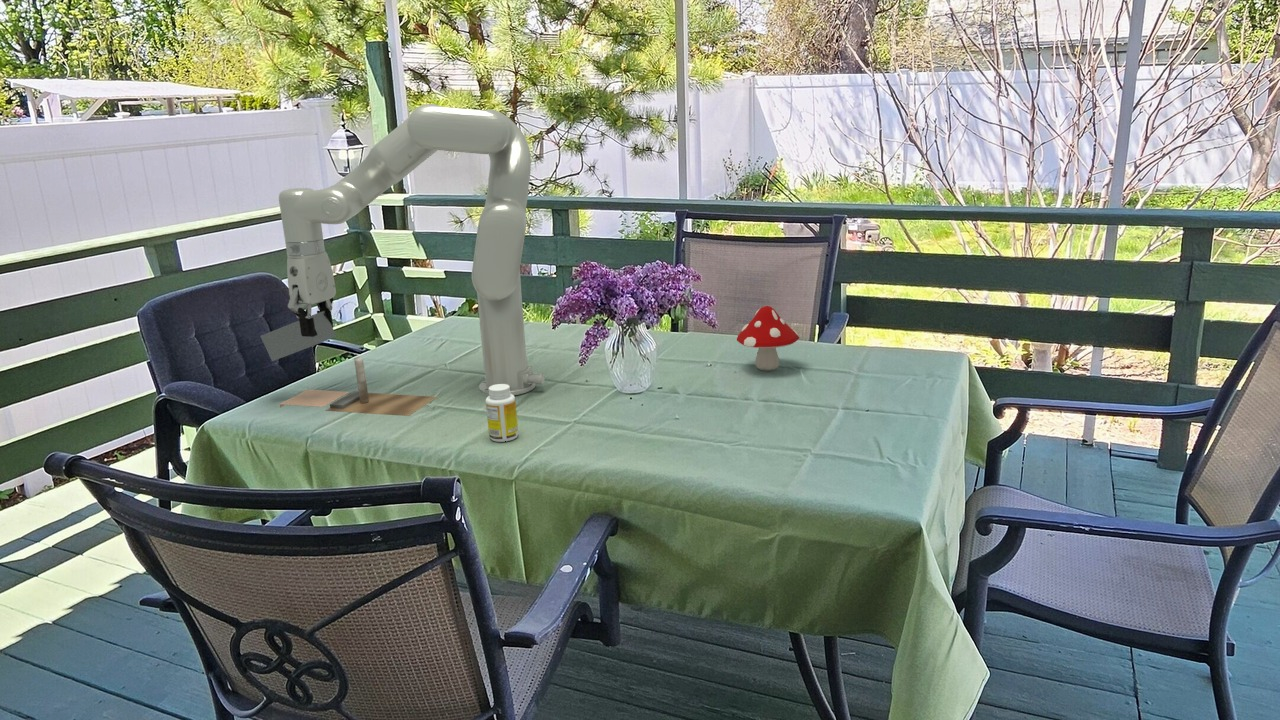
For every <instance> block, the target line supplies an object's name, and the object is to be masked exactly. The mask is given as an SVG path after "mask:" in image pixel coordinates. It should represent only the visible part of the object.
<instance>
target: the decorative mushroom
mask: <svg viewBox="0 0 1280 720" xmlns="http://www.w3.org/2000/svg"><path fill="white" fill-rule="evenodd" d="M799 340H800V336H799V334H798V332H797V331H796V330H794V329H793V328H791V326H789V324H787V323H786V322H785V319H783V318H782V317H781V316H780V315H779V313H777V311H776V310H775V309H774V307H772V306H771V305H770V306H769V305H765V306H762V307H760V308H759V309H758V310H756V312H755V314H754V317H753V318H752V319H751V320H750V321H749V322H748V323H747V324H745V325H744V326H743V327H742V329H741V330H740V332H739V333H738V334H737V337H736V341H737V342H738V343H739V344H741V345H743V346H744V347H747V348H756V349H757V348H758V349H757V353H756V358H755V361H754V364H755V367H756V368H757V369H759V370H761V371H763V372H765V371H766V372H767V371H769V372H771V371H774V370H776V369H778V368H779V366H780V358H779V354H778V351H777V348H782V347H787V346H790V345H792V344H794V343H796V342H797V341H799Z"/></svg>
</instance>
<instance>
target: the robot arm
mask: <svg viewBox="0 0 1280 720" xmlns="http://www.w3.org/2000/svg"><path fill="white" fill-rule="evenodd" d="M437 151H442V152H443V151H444V152H455V153H467V154H468V153H469V154H476V155H477V154H479V155H488V157H489V160H490V161H489V162H490V163H489V164H490V166H489V173H488V183H487V191H486V197H485V203H484V207H483V209H482V211H481V213H480V215H479V218H478V225H477V232H476V239H475V240H476V241H475V247H474V253H473V254H474V255H473V260H472V261H473V262H472V269H471V282H472V286H473V288H474V289H475V291H476V295H477V296H476V297H477V308H478V309H477V310H478V316H479V317H478V319H479V331H480V340H481V349H482V358H483V359H482V360H483V369H484V371H483V372H484V380H483V381H481V382H480V384H479V385H478V390H479V391H481V392H483V393H485V394H489V387H490V386H492V385H496V384H507V385H509V386H510V394H512V395H514V396H518V395H523V394H526V393H528V392H530V391H532V390H534V389H535V388H536V386H537V384H538V385H544V383H545V382H546V379H545V375H544V372H534V371H533V365H528V359H527V358H528V355H527V346H526V336H525V335H526V334H525V323H524V311H523V310H524V309H523V297H522V295H523V294H522V282H521V281H522V280H521V269H520V268H521V262H522V255H523V250H524V244H525V243H524V242H525V238H526V237H525V236H526V227H527V216H526V215H527V214H526V213H527V212H526V211H527V204H528V198H529V197H528V196H529V191H530V190H529V187H530V180H531V179H530V178H531V170H532V169H531V168H532V165H531V164H532V160H531V157H532V156H531V153H530V152H531V151H530V146H529V143H528V141H527V139H526V137H525V135H524V133H523V132H522V130H521V128H520V127H518V125H517V124H516V123H515V122H514V121H513V120H512V119H511V118H509V117H508V116H507V115H505V114H503V112H501V111H499V110H495V109H491V108H490V109H475V108H474V109H473V108H472V109H471V108H460V107H449V106H442V105H441V106H440V105H439V104H436V103H426V104H422V105H419V106H417V107H416V108H415V109H413V111H411V113H410V115H409V117H407V118H406V119H405V120H403V122H401V123H400V124H399V125H398V126H397V127H396V128H394V129H393V130H391V132H389V133H388V134H386V136H384V137H383V138H382V139H380V140H379V141H378V142H377V143H376V144H375V145H373V147H372V148H371V149H370V150H369V152H368V154H367V156H366V157H365V158H364V159H363V160H362V161H361V162H360V163H359V164H358V165H357V166H356V167H354V169H352V170H351V171H350V172H349V173H347V174H346V175H345V176H344V177H343V178H341V179H340V180H339V181H337V182H336V183H335V184H333V185H331V186H328V187H326V188H321V189H316V190H314V189H313V188H307V187H299V188H287V189H284V190H282V191H280V192H279V194H278V204H279V209H280V211H279V212H280V217H281V223H282V229H283V236H284V242H285V249H286V256H287V260H286V262H287V263H286V271H287V286H288V294H289V301H288V303H287V308H288V310H290V311H292V312H293V314H294V315H296V318H297V319H298V321H299V322H300V329H301V335H302V336H306V337H314V336H316V333H315V325H314V319H313V318H311V316H312V309H313V308H312V307H313V305H316V306H317V309H318V310H316V314H317V313H319V312H322V311H325V313H326V315H327V317H328V319H329V321H330V323H331V325H332V327H333V328H334V323H333V317H332V310H333V302H334V298H335V296H336V294H337V289H336V282H335V278H334V277H335V276H334V272H333V267H332V265H331V261H330V257H329V255H328V253H327V251H326V248H325V240H324V235H323V234H324V232H323V228H322V224H324V225H339V224H344V223H345V222H347V221H349V220H350V219H351V218H353V217H355V216H356V215H357V214H359V213H360V212H361V211H363V209H365V208H366V207H367V206H368V205H370V204H371V203H372V202H373V201H375V200H376V199H377V198H378V197H380V196H381V195H382V194H383V193H384V192H386V191H387V190H388V189H390V188H391V187H392V186H394V185H396V184H398V183H399V182H400V181H402V180H403V179H404V178H406V177H407V176H408V175H410V173H412V172H413V171H414V170H415V169H416V168H418V167H419V166H420V165H422V164H423V163H424V162H425V161H426V160H428V159H429V158H430V157H431V156H432V155H434V154H435V153H437ZM303 307H305V309H304V308H303Z"/></svg>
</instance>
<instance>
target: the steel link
mask: <svg viewBox="0 0 1280 720" xmlns="http://www.w3.org/2000/svg"><path fill="white" fill-rule="evenodd" d="M311 318H313V319H314V325H315V333H316V336H314V337H306V336H302V335H301V329H300V322H299V320H297V321H295V322H291V323H289V324H286V325H284V326H282V327H279V328H277V329H274V330H272V331H269V332H267V333H264V334H261V335H260V338H261V341H262V344H263V345H264V347H265V349H266V351H267V353H268V356H269V358H270V360H271V362H274V361H276V360H280V359H282V358H284V357H287V356H290V355H292V354H295V353H298V352H300V351H303V350H305V349H308V348H311V347H314V346H316V345H319V344H322V343H324V342H327V341H328V340H330V339H332V338H335V337H337V335H336V332H335V330H334V326H333V327H332V325H331V323H330V321H329V319H328V317H327V315H326V313H325V311H322V312H319V313H317V312H316V313H314V314H313V315H312V314H311Z"/></svg>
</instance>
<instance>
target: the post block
mask: <svg viewBox="0 0 1280 720" xmlns="http://www.w3.org/2000/svg"><path fill="white" fill-rule="evenodd" d="M353 360H354V368H355V376H356V382H357V388H358V390H353V391H352V392H349V393H347V394H346V395H344V396H342V397H340V398H338V399H336V400H335V401H333V402H331V403H329V408H327V409H325V411H326V412H341V413H359V414H370V415H389V416H390V415H391V416H403V417H404V416H405V417H410V416H411V415H413V414H414V413H416V412H418V410H421V409H422V408H423V407H425V406H427V405H428V404H429V403H431V402H432V401H433V400H434V401H435V399H438V396H433V395H431V396H430V395H413V394H398V393H397V394H396V393H395V394H394V393H380V392H379V393H375V392H374V393H373V392H368V386H367V385H368V384H367V378H366V372H365V371H366V370H365V364H364V357H363V356H355V357H354V358H353Z"/></svg>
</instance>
